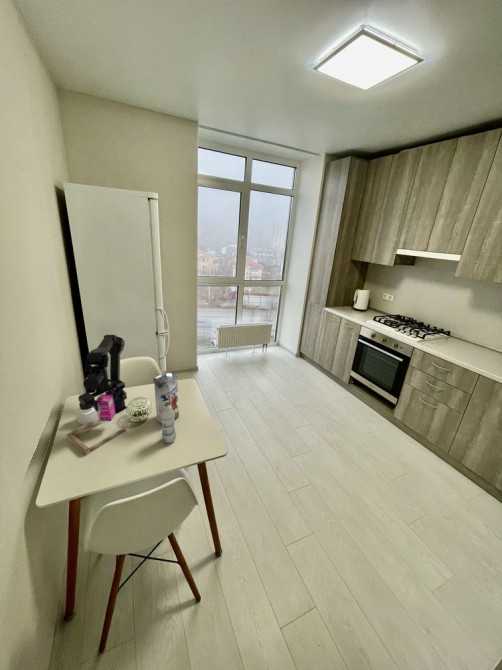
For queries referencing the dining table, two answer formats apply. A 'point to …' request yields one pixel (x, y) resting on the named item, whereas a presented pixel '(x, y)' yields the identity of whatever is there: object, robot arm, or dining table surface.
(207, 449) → the dining table surface
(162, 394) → the juice carton
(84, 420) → the medicine bottle
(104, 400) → the supplement box
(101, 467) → the dining table surface
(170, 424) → the plastic bottle
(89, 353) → the robot arm
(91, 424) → the cleat bracket
